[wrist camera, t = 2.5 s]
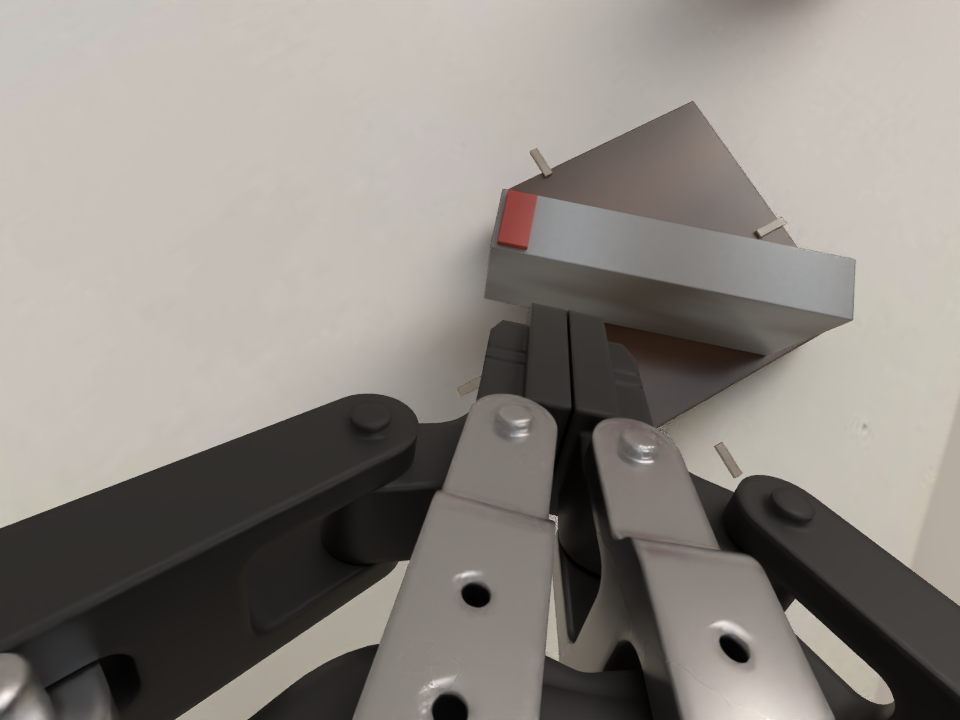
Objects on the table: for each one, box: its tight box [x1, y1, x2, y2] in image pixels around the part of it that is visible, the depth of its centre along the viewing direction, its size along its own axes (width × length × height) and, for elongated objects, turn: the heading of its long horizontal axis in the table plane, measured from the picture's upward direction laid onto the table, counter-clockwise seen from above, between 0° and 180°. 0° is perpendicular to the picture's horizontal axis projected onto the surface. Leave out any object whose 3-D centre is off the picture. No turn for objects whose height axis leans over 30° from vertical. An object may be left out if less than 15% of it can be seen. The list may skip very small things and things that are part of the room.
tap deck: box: [457, 101, 824, 478], centre depth 24 cm, size 16×16×3 cm
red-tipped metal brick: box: [484, 189, 856, 356], centre depth 20 cm, size 12×2×5 cm, turn 79°
